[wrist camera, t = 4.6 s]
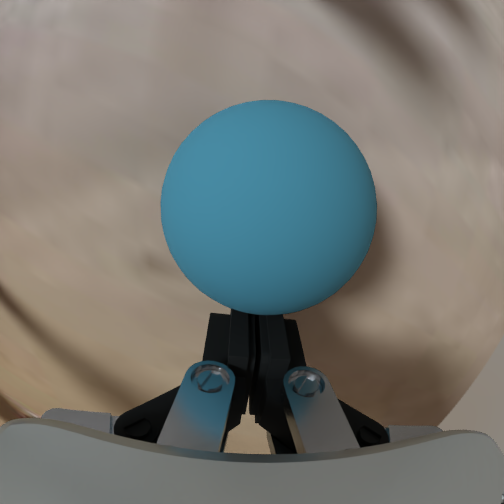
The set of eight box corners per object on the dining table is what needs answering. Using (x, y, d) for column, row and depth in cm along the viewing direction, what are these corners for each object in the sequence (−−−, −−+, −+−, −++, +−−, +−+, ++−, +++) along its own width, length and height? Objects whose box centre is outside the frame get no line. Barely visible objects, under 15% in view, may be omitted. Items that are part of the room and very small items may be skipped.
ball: (358, 357, 8) (458, 166, 5) (147, 353, 7) (138, 93, 3) (310, 246, 13) (349, 114, 9) (172, 233, 12) (186, 84, 8)
